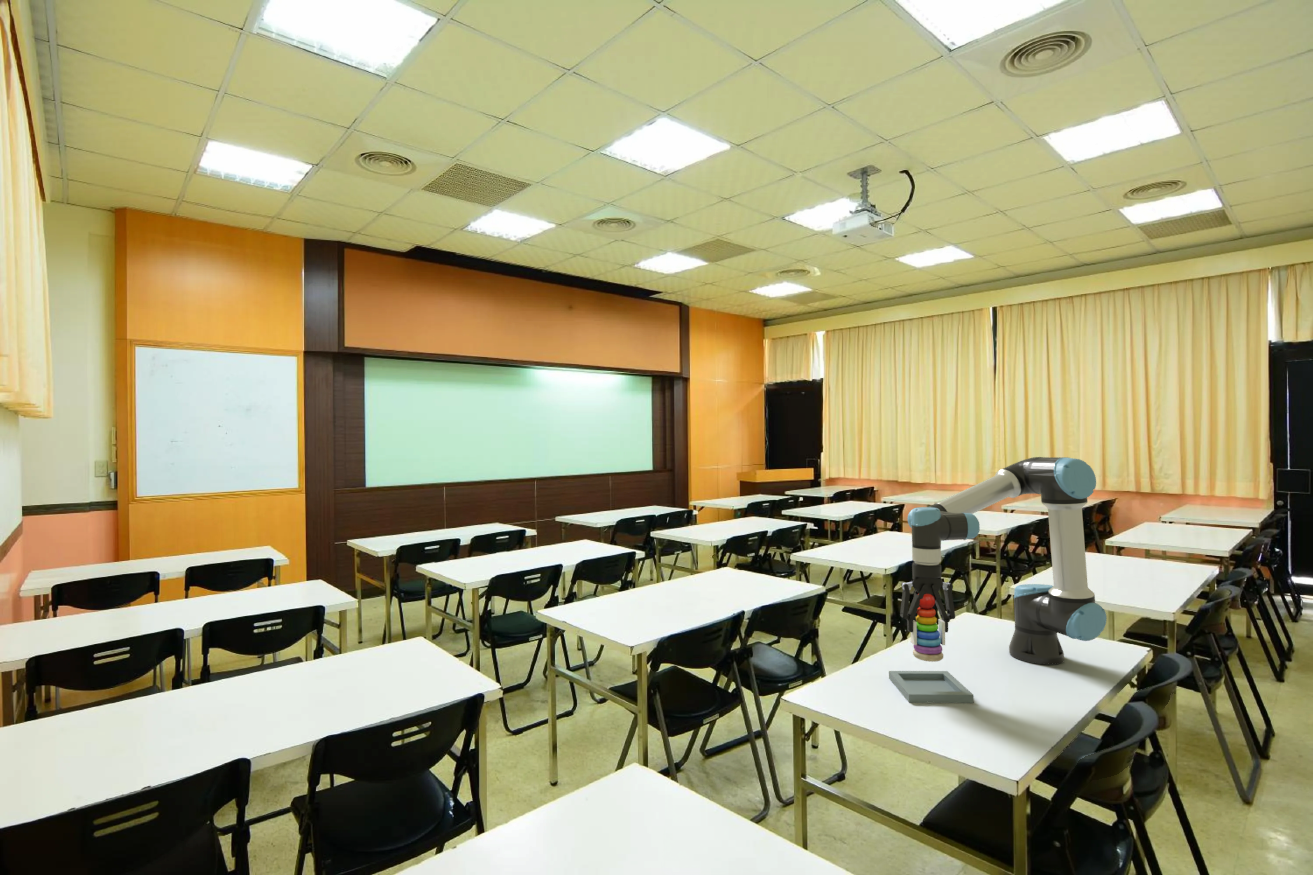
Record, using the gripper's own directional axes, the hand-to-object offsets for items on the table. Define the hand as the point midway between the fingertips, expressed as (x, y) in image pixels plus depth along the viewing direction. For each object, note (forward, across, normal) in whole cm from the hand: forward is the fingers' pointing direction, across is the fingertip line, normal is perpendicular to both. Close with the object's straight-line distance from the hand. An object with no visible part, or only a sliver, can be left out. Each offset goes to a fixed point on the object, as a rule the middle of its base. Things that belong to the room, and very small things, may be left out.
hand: (927, 643), depth 175 cm
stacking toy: (+4, 0, 0) cm, 4 cm away
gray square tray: (+13, 0, 0) cm, 13 cm away
